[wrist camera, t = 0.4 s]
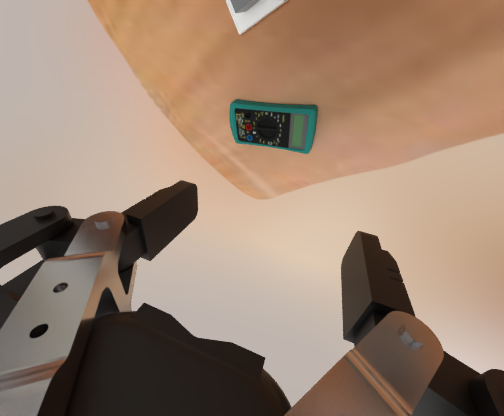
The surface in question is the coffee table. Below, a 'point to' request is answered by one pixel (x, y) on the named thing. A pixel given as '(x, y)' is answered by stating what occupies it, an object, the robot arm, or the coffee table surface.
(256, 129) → the digital multimeter
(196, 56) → the coffee table surface
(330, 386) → the robot arm
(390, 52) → the coffee table surface
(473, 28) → the coffee table surface
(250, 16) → the charging cradle
